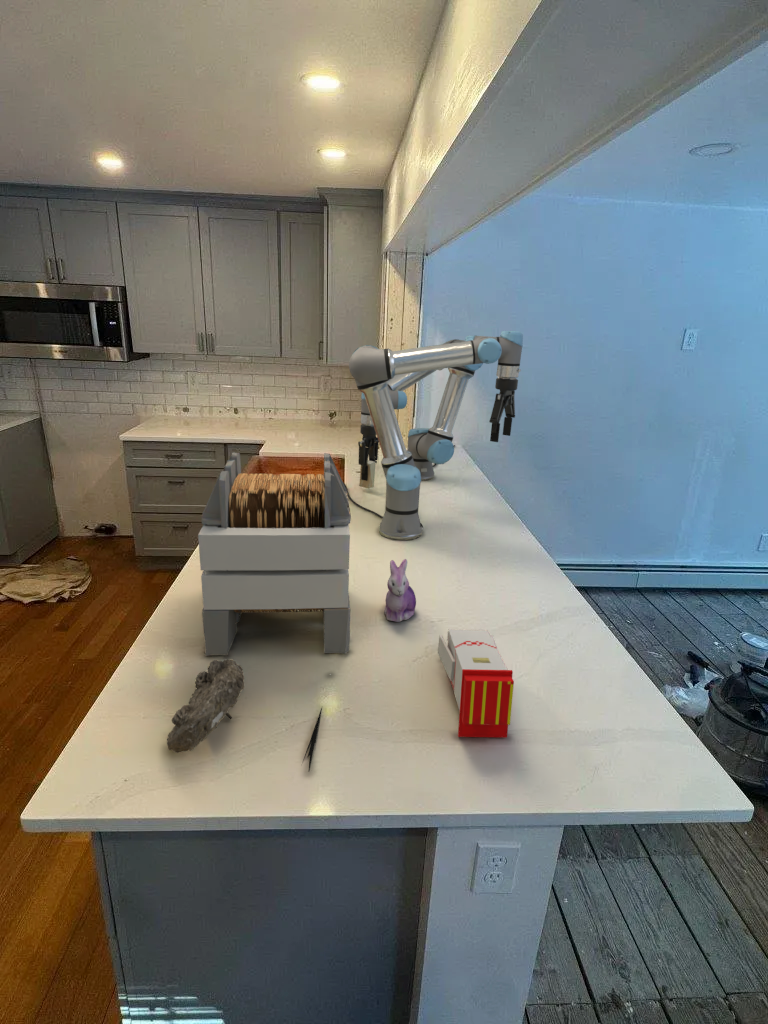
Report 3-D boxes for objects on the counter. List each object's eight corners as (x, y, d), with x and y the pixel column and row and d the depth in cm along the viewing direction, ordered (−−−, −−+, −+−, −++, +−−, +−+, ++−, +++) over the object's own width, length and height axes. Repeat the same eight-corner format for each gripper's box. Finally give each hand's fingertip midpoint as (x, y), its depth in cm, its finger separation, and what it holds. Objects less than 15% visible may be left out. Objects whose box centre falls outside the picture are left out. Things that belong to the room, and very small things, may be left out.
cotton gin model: (226, 586, 157) (217, 442, 143) (344, 585, 161) (346, 445, 147) (202, 658, 125) (189, 482, 112) (350, 654, 129) (354, 483, 115)
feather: (331, 679, 122) (336, 673, 122) (307, 777, 96) (313, 769, 95) (324, 675, 122) (329, 669, 121) (298, 772, 95) (304, 764, 95)
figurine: (392, 627, 141) (395, 572, 136) (374, 608, 149) (376, 556, 144) (425, 619, 145) (429, 566, 140) (405, 601, 154) (408, 550, 149)
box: (359, 486, 243) (360, 461, 239) (364, 484, 246) (365, 459, 242) (369, 488, 240) (370, 463, 236) (374, 486, 244) (375, 461, 240)
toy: (488, 613, 130) (523, 677, 101) (484, 667, 133) (517, 744, 104) (435, 612, 130) (455, 676, 101) (432, 666, 133) (451, 743, 103)
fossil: (192, 660, 117) (244, 628, 112) (224, 691, 120) (276, 661, 115) (142, 746, 98) (202, 712, 93) (182, 779, 101) (242, 748, 96)
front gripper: (506, 382, 184) (499, 446, 191) (528, 376, 205) (520, 434, 212) (484, 379, 188) (478, 442, 195) (508, 374, 208) (501, 431, 215)
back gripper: (366, 428, 225) (364, 485, 233) (387, 422, 240) (385, 475, 247) (350, 426, 229) (348, 481, 236) (372, 420, 243) (370, 472, 251)
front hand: (500, 438), depth 203 cm, fingers open, 13 cm apart
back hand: (367, 478), depth 242 cm, fingers closed on box, 4 cm apart
